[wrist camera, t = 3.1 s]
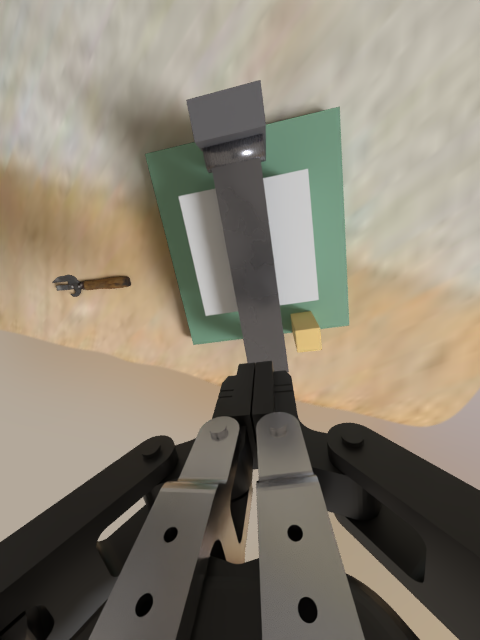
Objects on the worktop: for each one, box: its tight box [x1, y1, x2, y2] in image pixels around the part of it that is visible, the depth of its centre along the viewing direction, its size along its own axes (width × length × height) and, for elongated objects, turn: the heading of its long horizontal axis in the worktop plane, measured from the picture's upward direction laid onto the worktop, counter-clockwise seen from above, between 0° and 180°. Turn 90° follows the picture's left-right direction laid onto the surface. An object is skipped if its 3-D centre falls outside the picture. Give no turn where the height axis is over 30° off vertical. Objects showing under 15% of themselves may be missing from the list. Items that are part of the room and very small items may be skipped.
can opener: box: [52, 275, 131, 297], centre depth 28 cm, size 9×2×1 cm, turn 90°
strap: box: [203, 134, 289, 372], centre depth 20 cm, size 16×4×6 cm, turn 10°
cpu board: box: [145, 80, 349, 352], centre depth 21 cm, size 18×16×10 cm
